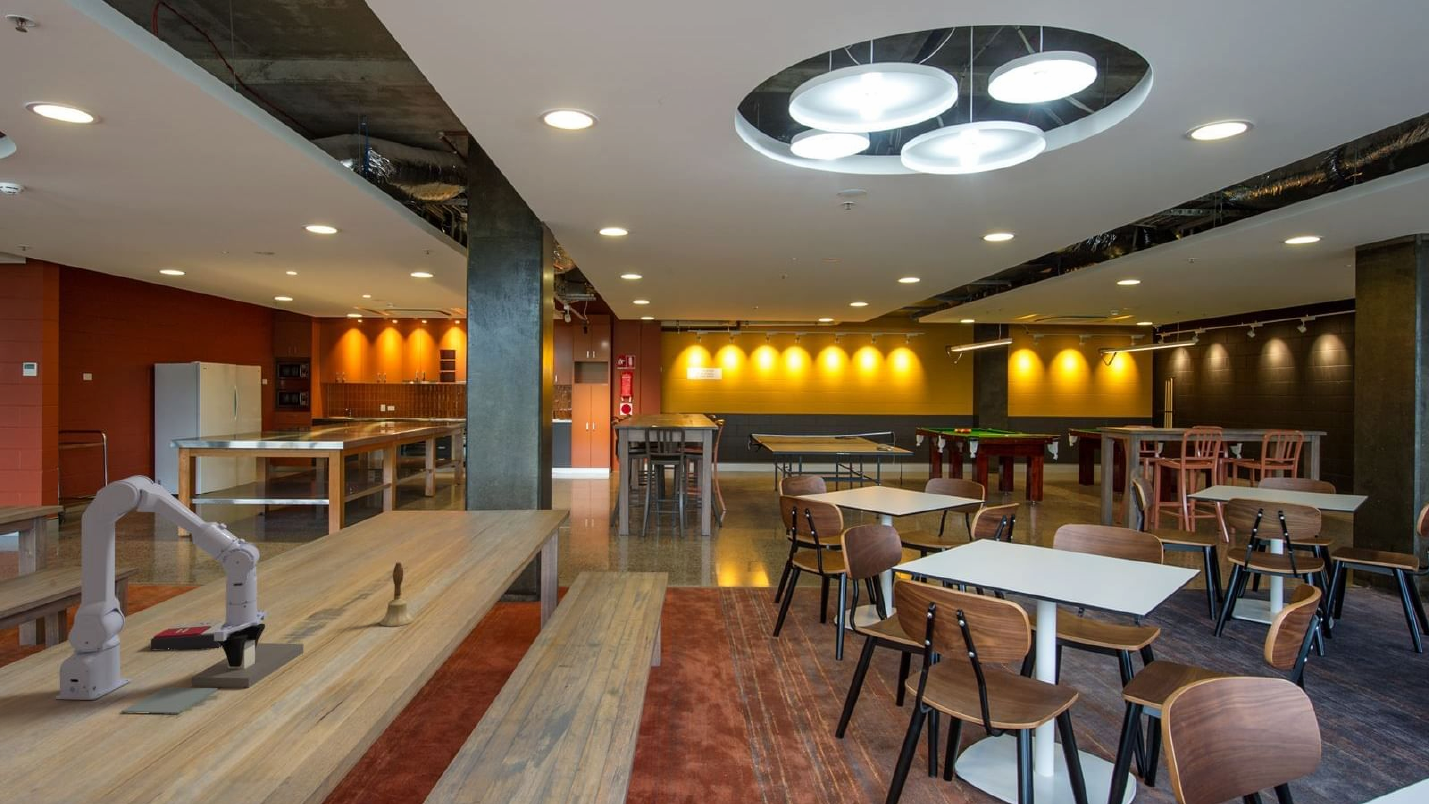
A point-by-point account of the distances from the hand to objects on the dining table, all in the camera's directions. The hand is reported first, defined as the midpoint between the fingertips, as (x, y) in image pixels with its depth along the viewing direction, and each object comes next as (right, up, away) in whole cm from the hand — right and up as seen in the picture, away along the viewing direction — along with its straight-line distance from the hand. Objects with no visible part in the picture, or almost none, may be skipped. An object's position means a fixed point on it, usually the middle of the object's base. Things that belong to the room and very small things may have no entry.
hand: (241, 662), depth 159 cm
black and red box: (-23, -2, +19) cm, 31 cm away
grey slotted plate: (0, -3, +3) cm, 4 cm away
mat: (-5, -3, -14) cm, 15 cm away
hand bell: (+18, -2, +36) cm, 41 cm away
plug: (0, -3, 0) cm, 3 cm away
